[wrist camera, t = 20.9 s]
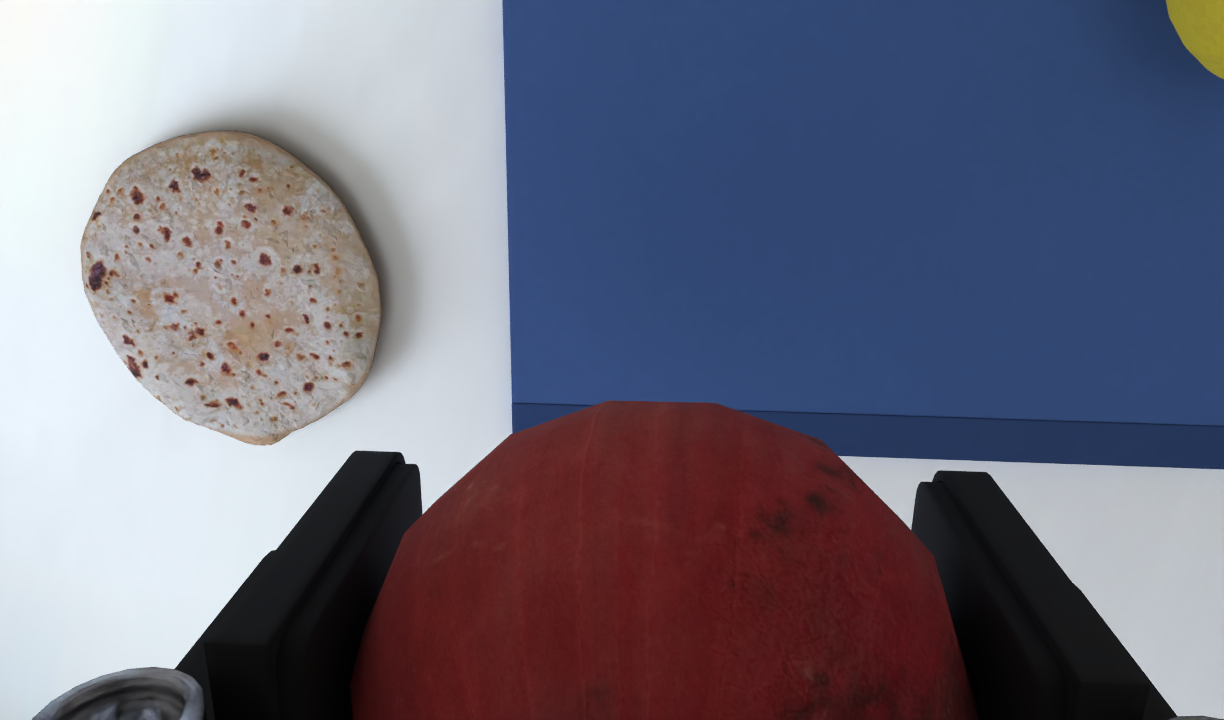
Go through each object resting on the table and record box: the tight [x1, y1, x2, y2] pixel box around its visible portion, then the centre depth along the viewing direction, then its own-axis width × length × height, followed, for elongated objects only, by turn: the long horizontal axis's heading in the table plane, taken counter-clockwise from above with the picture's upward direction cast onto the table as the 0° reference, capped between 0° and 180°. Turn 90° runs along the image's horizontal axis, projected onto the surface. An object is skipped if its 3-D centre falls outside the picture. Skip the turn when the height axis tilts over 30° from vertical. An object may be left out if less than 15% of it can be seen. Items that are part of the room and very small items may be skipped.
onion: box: [350, 400, 979, 720], centre depth 9 cm, size 6×6×8 cm
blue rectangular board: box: [503, 0, 1224, 469], centre depth 22 cm, size 20×16×1 cm
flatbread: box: [81, 131, 381, 445], centre depth 24 cm, size 8×8×1 cm
